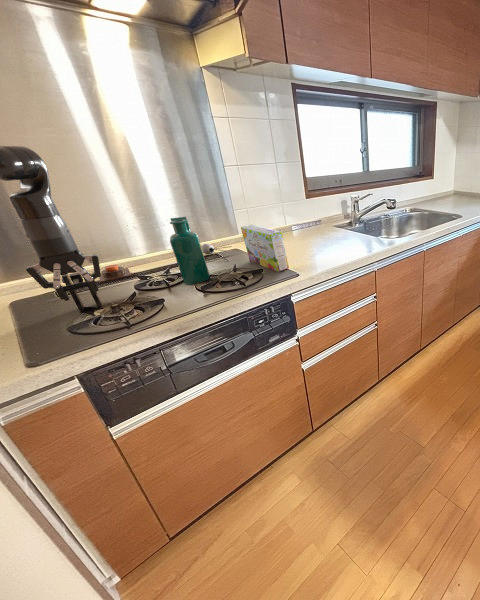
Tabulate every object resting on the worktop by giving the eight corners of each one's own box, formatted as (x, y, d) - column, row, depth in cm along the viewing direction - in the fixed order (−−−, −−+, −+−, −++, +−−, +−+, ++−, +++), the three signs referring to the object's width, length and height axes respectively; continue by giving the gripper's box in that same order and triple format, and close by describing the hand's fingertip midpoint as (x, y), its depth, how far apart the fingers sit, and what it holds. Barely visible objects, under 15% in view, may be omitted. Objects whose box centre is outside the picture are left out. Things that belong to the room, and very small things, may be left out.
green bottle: (211, 280, 118) (193, 220, 109) (184, 285, 114) (163, 223, 105) (209, 272, 126) (191, 215, 116) (184, 277, 122) (163, 218, 112)
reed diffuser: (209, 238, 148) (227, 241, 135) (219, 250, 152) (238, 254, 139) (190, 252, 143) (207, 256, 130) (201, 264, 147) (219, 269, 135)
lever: (90, 288, 88) (86, 280, 87) (65, 293, 85) (61, 285, 84) (89, 278, 96) (85, 270, 95) (66, 283, 93) (62, 275, 92)
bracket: (113, 312, 97) (95, 272, 92) (73, 322, 92) (51, 281, 86) (110, 301, 104) (93, 264, 98) (73, 311, 99) (52, 272, 93)
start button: (119, 270, 120) (117, 266, 119) (107, 273, 117) (105, 268, 117) (118, 268, 122) (116, 263, 121) (106, 270, 120) (104, 266, 119)
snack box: (248, 262, 136) (239, 226, 129) (260, 258, 140) (252, 223, 133) (277, 272, 124) (269, 234, 117) (290, 268, 128) (283, 230, 121)
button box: (133, 280, 120) (129, 270, 119) (102, 287, 115) (97, 276, 113) (129, 272, 128) (125, 263, 126) (100, 279, 122) (95, 269, 120)
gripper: (87, 227, 87) (113, 284, 94) (9, 238, 78) (45, 300, 86) (88, 231, 82) (116, 292, 90) (5, 244, 73) (44, 310, 81)
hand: (81, 296), depth 88 cm, fingers closed on lever, 5 cm apart
